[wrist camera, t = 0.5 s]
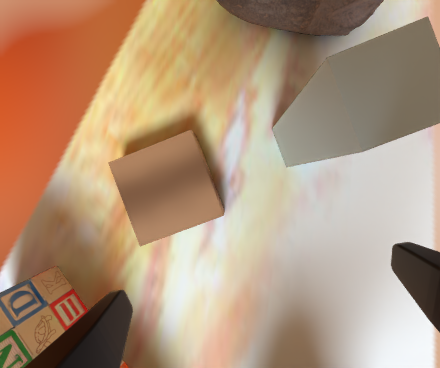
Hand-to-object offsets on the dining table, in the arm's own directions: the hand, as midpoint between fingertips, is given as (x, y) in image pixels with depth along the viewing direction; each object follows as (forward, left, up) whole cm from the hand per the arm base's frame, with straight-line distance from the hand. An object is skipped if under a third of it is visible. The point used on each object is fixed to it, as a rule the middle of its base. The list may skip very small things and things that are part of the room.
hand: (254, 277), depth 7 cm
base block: (+5, +5, -14) cm, 16 cm away
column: (+4, -8, -14) cm, 16 cm away
